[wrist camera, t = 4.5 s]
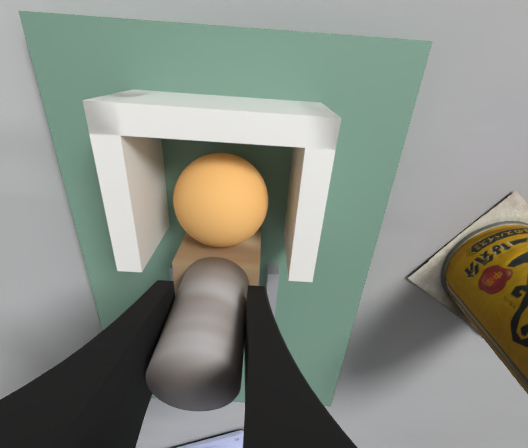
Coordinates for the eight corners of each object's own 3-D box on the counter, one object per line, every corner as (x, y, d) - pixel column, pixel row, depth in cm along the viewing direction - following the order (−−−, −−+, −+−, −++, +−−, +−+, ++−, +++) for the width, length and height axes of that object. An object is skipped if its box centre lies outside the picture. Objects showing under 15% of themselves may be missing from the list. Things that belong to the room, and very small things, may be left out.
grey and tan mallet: (258, 264, 17) (252, 413, 10) (193, 261, 17) (138, 408, 10) (262, 219, 15) (257, 354, 8) (190, 215, 15) (124, 347, 8)
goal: (302, 233, 16) (312, 282, 13) (150, 224, 16) (117, 271, 12) (321, 102, 13) (341, 117, 9) (133, 89, 13) (82, 100, 9)
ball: (201, 117, 11) (215, 154, 15) (137, 205, 11) (169, 219, 15) (291, 175, 11) (282, 197, 15) (230, 266, 11) (237, 264, 15)
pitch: (327, 391, 24) (333, 419, 22) (126, 381, 24) (113, 409, 22) (419, 43, 13) (445, 39, 11) (39, 15, 13) (-2, 6, 11)
